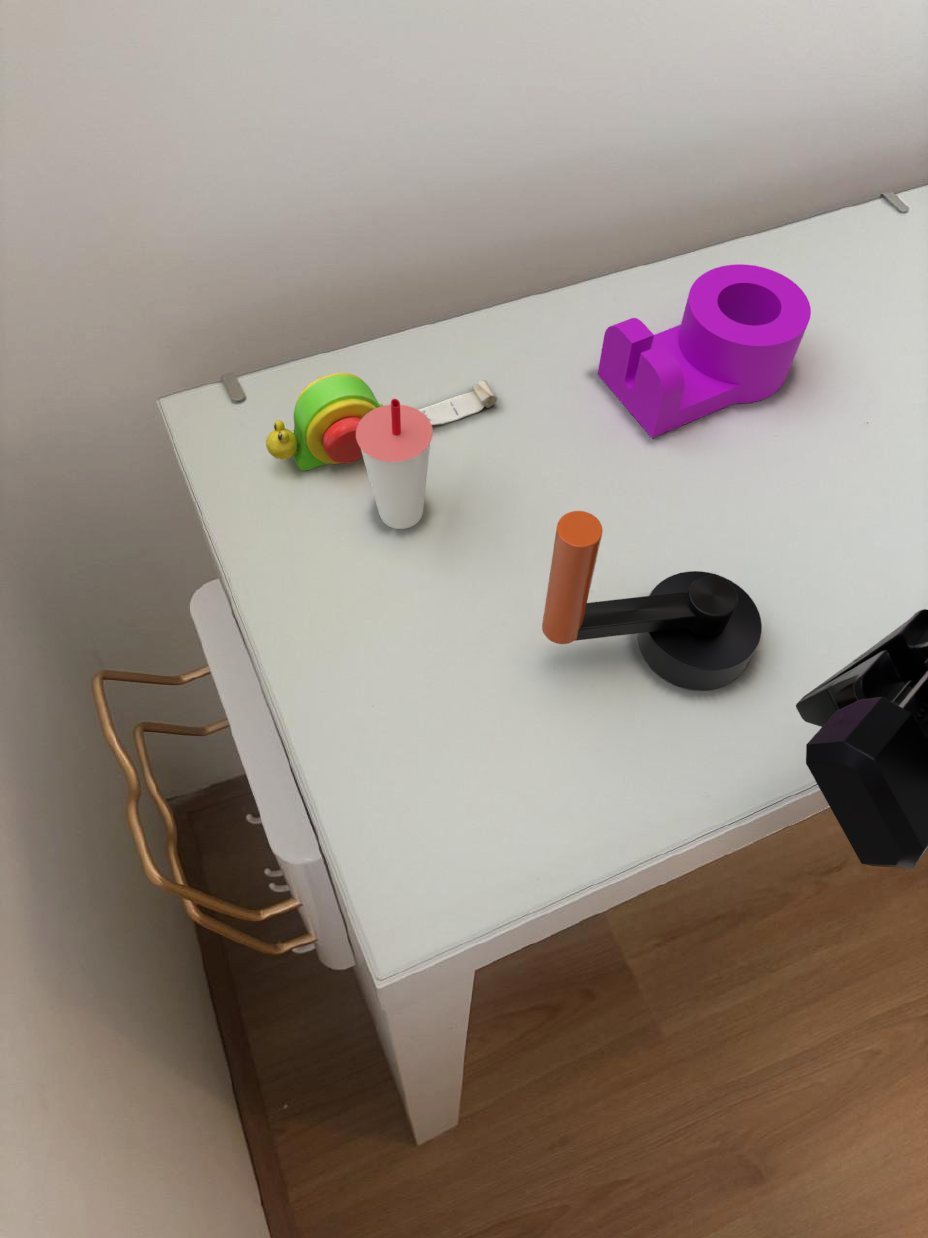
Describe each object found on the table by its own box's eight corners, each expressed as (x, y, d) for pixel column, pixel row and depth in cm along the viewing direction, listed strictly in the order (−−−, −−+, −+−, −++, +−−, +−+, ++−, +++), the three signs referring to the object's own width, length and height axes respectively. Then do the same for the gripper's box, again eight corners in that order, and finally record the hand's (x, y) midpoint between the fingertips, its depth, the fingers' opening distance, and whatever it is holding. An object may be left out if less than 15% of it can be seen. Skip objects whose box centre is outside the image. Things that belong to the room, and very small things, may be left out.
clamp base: (754, 606, 67) (766, 583, 64) (744, 701, 63) (757, 681, 60) (646, 584, 68) (653, 560, 66) (629, 676, 64) (636, 655, 61)
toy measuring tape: (260, 441, 75) (244, 381, 70) (477, 374, 79) (478, 313, 74) (284, 497, 72) (269, 439, 67) (508, 424, 76) (511, 364, 71)
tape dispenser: (741, 310, 84) (760, 250, 78) (810, 378, 79) (836, 320, 74) (592, 368, 80) (602, 310, 74) (657, 444, 75) (672, 387, 70)
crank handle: (720, 594, 64) (768, 485, 54) (733, 633, 62) (785, 529, 52) (537, 615, 63) (552, 508, 53) (545, 655, 61) (562, 553, 51)
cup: (446, 526, 71) (444, 415, 61) (381, 548, 70) (367, 439, 59) (420, 477, 73) (413, 362, 63) (357, 497, 72) (340, 384, 62)
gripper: (1138, 1004, 32) (782, 949, 45) (1266, 714, 42) (942, 738, 55) (999, 737, 31) (674, 761, 44) (1165, 502, 41) (858, 579, 54)
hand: (802, 709), depth 49 cm, fingers closed
